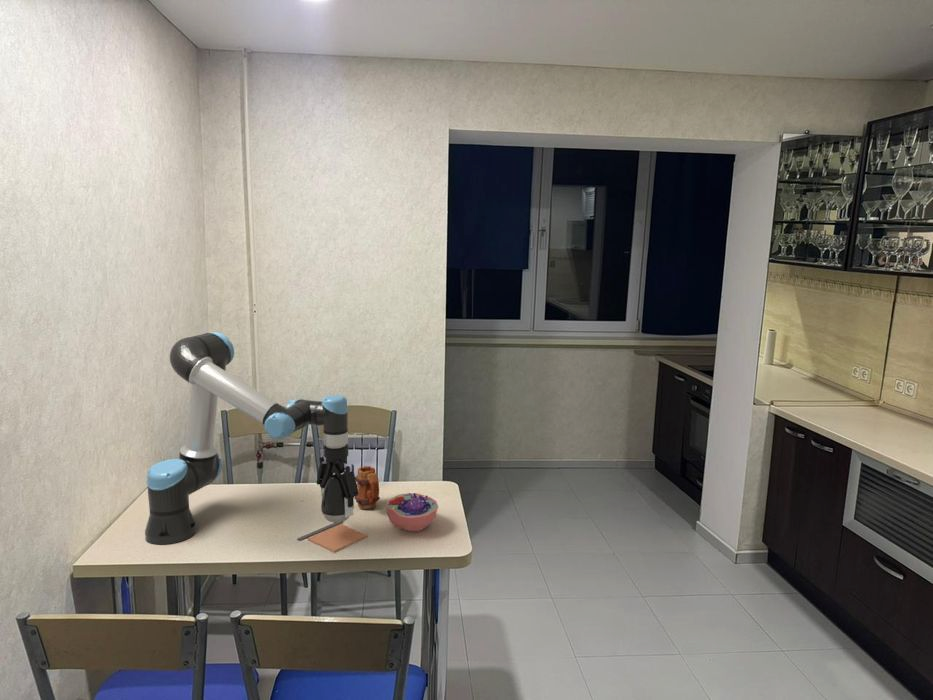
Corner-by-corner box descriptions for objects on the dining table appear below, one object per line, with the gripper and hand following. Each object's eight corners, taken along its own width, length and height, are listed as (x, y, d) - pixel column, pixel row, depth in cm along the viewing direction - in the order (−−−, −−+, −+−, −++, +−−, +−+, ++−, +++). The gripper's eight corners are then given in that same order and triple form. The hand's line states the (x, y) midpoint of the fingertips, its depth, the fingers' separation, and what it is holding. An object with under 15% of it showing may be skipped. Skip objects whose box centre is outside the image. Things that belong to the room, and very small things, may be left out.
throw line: (297, 539, 209) (296, 538, 209) (340, 521, 223) (340, 520, 223) (299, 541, 208) (299, 539, 208) (343, 522, 222) (343, 521, 222)
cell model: (428, 512, 232) (428, 481, 230) (443, 536, 213) (444, 504, 211) (381, 517, 227) (380, 486, 225) (392, 543, 208) (392, 510, 206)
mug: (352, 503, 238) (351, 464, 235) (373, 500, 241) (373, 461, 239) (365, 519, 225) (364, 478, 222) (387, 515, 229) (387, 474, 226)
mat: (307, 540, 209) (307, 538, 209) (341, 525, 220) (341, 523, 220) (334, 552, 201) (334, 551, 201) (367, 537, 212) (367, 535, 212)
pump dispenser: (352, 526, 205) (351, 480, 202) (319, 526, 204) (317, 480, 201) (356, 512, 215) (355, 468, 212) (324, 513, 214) (322, 468, 211)
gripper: (369, 449, 201) (370, 517, 205) (322, 434, 215) (324, 498, 219) (351, 455, 195) (352, 525, 199) (303, 440, 209) (305, 505, 213)
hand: (337, 511), depth 209 cm, fingers closed on pump dispenser, 10 cm apart
